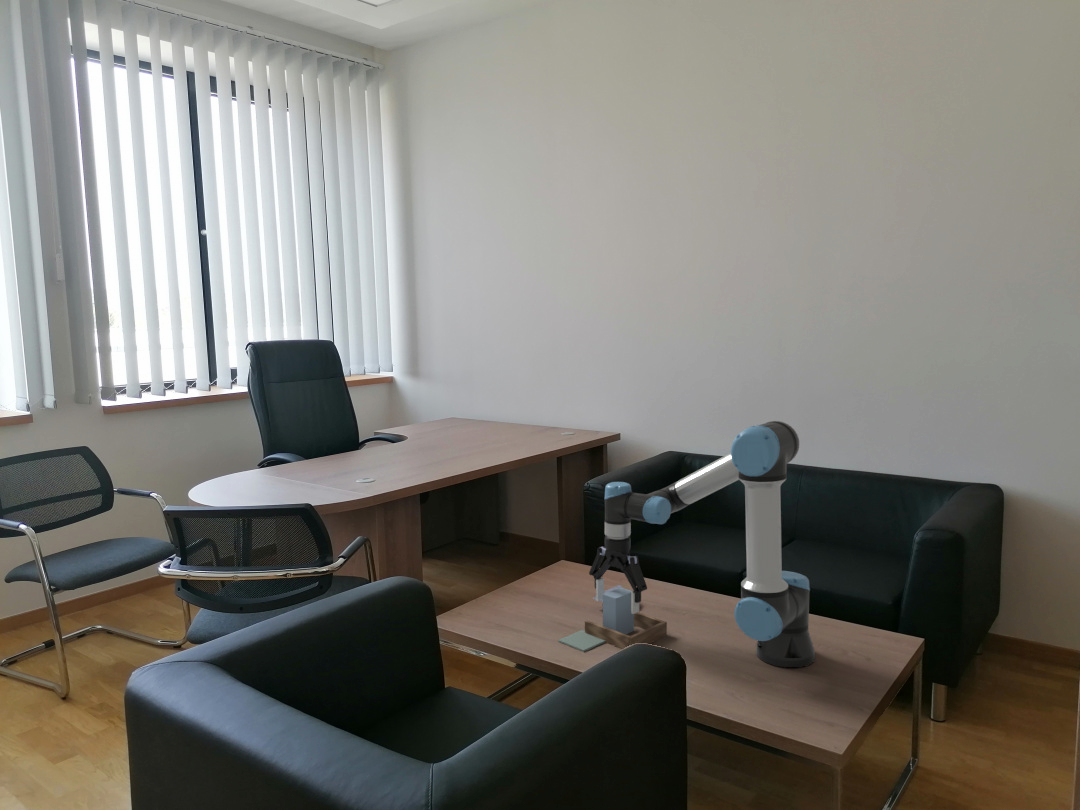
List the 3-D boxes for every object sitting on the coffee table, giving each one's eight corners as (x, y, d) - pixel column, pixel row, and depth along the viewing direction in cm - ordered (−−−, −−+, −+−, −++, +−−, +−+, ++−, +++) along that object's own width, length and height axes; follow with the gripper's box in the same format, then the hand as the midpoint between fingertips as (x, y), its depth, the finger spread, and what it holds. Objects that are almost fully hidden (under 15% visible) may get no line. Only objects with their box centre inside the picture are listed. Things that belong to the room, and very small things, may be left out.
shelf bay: (666, 635, 229) (666, 621, 229) (631, 652, 218) (630, 638, 218) (620, 619, 242) (620, 606, 241) (584, 634, 231) (584, 621, 230)
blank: (633, 630, 233) (633, 591, 232) (615, 638, 227) (615, 598, 226) (620, 626, 237) (620, 587, 235) (603, 633, 231) (602, 594, 230)
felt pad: (607, 641, 226) (607, 639, 226) (583, 651, 219) (583, 650, 219) (582, 631, 233) (582, 629, 233) (558, 641, 226) (558, 639, 226)
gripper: (660, 542, 222) (659, 614, 225) (594, 524, 240) (594, 591, 243) (643, 547, 217) (642, 621, 220) (577, 529, 235) (577, 598, 238)
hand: (617, 606), depth 231 cm, fingers open, 13 cm apart
